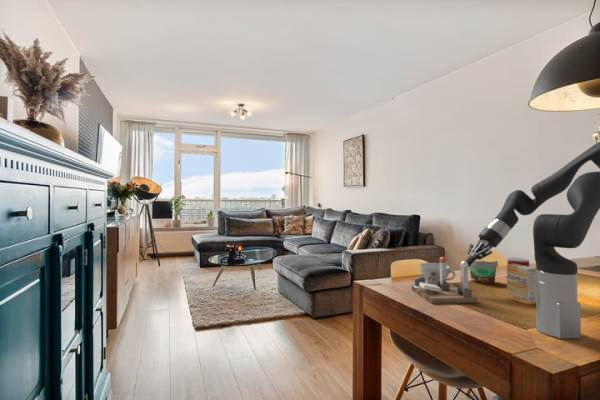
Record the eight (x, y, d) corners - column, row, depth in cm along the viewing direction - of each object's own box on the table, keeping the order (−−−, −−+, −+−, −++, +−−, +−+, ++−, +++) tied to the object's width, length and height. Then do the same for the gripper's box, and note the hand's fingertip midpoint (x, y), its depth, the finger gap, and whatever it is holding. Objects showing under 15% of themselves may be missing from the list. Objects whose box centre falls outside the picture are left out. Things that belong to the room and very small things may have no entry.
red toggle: (448, 289, 131) (447, 257, 131) (441, 289, 131) (441, 257, 131) (444, 287, 134) (444, 256, 134) (438, 287, 134) (437, 256, 134)
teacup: (415, 283, 149) (414, 265, 149) (426, 278, 158) (425, 261, 158) (450, 289, 139) (449, 270, 139) (459, 283, 148) (459, 265, 148)
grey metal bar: (470, 296, 122) (469, 261, 122) (463, 296, 122) (462, 262, 122) (465, 293, 125) (465, 260, 125) (458, 293, 125) (458, 260, 125)
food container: (471, 284, 147) (471, 261, 147) (467, 280, 153) (467, 259, 153) (502, 285, 144) (502, 262, 144) (497, 282, 150) (497, 260, 150)
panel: (477, 302, 121) (477, 290, 121) (430, 303, 120) (430, 291, 120) (451, 288, 140) (450, 277, 140) (410, 289, 140) (410, 278, 140)
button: (426, 286, 135) (426, 278, 135) (417, 286, 135) (417, 278, 135) (422, 283, 139) (422, 276, 139) (413, 283, 139) (413, 276, 139)
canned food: (532, 286, 143) (532, 260, 142) (511, 285, 144) (511, 260, 144) (524, 282, 150) (524, 257, 150) (504, 281, 152) (504, 257, 152)
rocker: (440, 291, 126) (440, 288, 126) (423, 288, 126) (424, 284, 126) (434, 288, 131) (435, 285, 131) (419, 285, 130) (419, 282, 130)
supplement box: (506, 298, 125) (505, 264, 125) (515, 297, 127) (514, 263, 127) (527, 305, 118) (527, 268, 118) (537, 303, 119) (537, 267, 119)
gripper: (512, 241, 127) (482, 275, 126) (491, 237, 140) (463, 268, 140) (498, 227, 127) (467, 261, 126) (478, 225, 140) (450, 255, 139)
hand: (465, 264), depth 133 cm, fingers closed
